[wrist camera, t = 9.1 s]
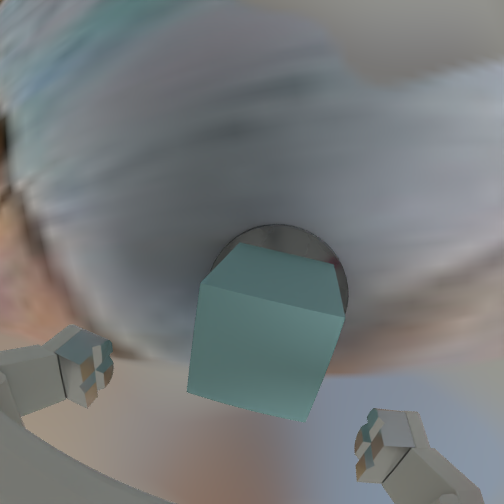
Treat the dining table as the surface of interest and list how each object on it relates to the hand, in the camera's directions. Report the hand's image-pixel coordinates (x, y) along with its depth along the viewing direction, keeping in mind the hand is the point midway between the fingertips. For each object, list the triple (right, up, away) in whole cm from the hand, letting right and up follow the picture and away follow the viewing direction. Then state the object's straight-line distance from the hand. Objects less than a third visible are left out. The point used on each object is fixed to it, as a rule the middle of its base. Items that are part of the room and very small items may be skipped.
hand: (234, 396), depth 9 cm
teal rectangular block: (+2, +2, +9) cm, 10 cm away
